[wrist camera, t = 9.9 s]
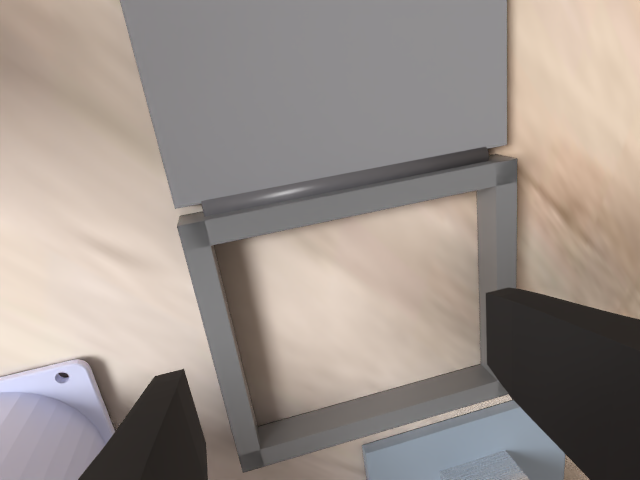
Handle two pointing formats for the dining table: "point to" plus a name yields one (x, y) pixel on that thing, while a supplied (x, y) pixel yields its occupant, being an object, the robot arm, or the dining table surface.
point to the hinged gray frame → (327, 158)
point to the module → (486, 469)
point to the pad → (466, 446)
